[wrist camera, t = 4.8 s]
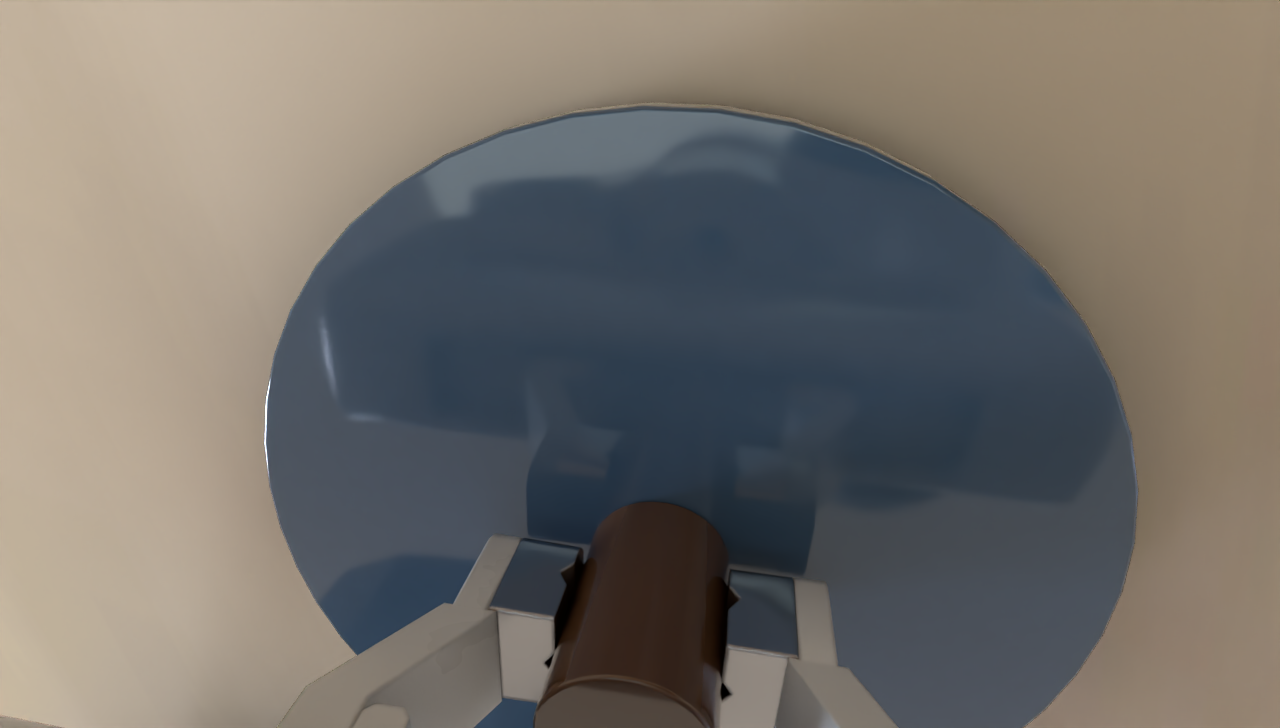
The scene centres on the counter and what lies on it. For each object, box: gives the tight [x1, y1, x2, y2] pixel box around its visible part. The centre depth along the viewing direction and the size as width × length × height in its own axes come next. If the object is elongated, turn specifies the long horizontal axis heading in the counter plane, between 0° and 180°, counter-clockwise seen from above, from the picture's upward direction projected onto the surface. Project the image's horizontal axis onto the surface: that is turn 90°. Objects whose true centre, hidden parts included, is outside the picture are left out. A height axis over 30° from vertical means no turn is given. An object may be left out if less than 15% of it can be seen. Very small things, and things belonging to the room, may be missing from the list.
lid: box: [264, 102, 1138, 728], centre depth 11 cm, size 15×15×5 cm
